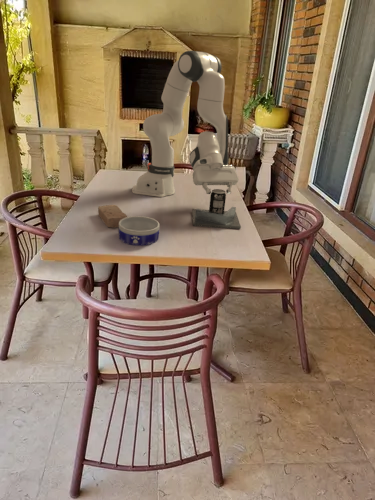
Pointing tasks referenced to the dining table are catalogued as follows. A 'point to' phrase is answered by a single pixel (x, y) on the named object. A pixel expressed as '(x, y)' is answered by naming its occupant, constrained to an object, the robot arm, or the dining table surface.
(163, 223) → the dining table surface
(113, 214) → the brick
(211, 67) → the robot arm
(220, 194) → the beverage can
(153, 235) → the dog bowl
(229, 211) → the v block
